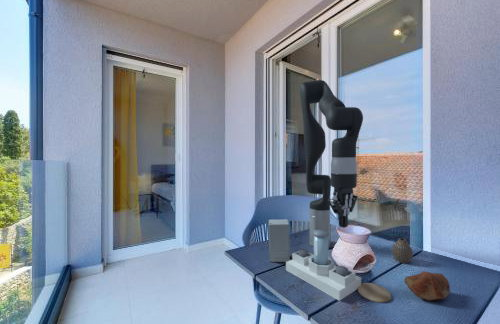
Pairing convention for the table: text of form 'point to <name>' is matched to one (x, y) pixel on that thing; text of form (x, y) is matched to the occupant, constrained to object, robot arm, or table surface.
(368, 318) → the table surface
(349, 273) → the housing
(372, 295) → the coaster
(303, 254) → the plunger
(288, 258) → the skincare box
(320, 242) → the cylinder
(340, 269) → the plunger
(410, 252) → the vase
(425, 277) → the fossil
